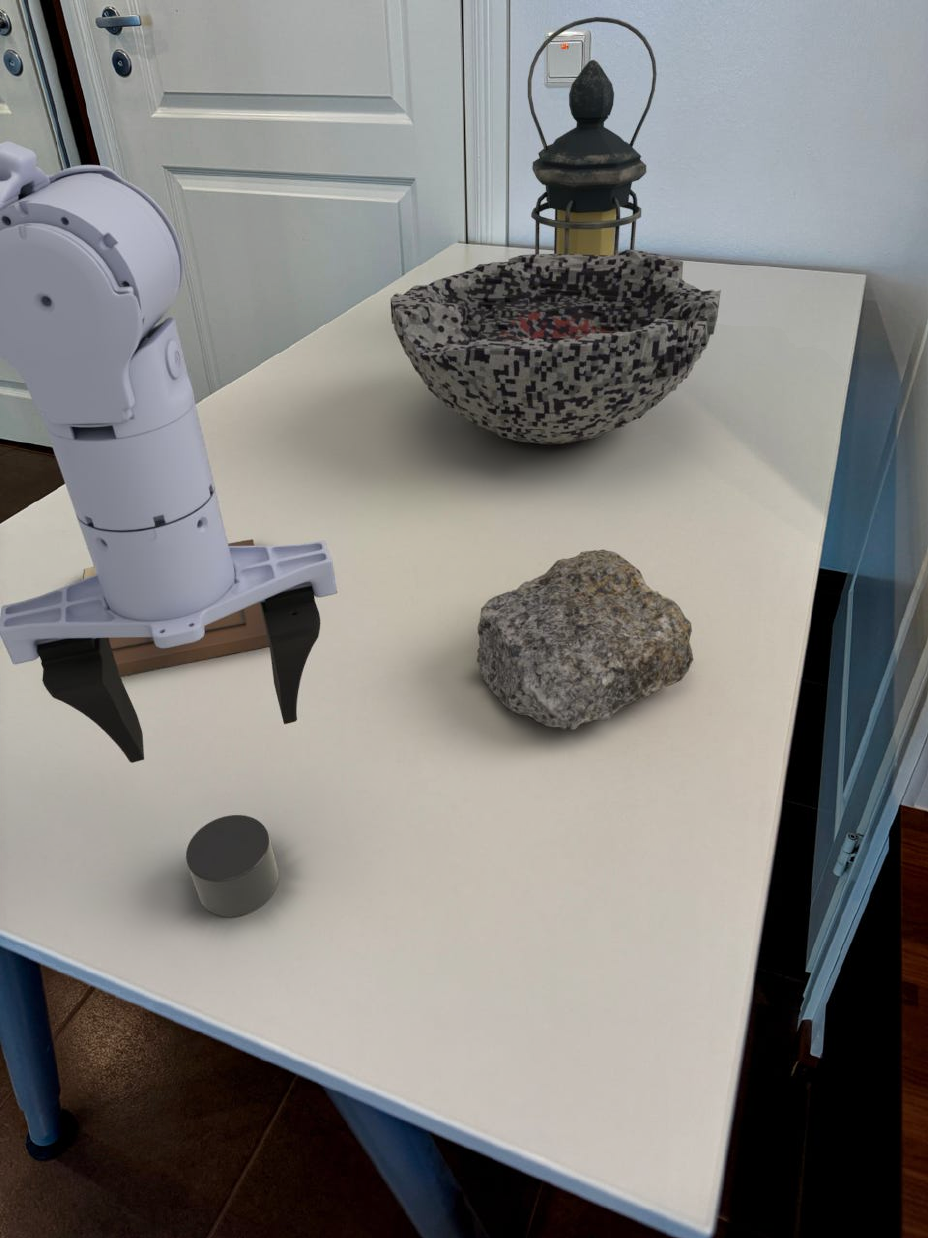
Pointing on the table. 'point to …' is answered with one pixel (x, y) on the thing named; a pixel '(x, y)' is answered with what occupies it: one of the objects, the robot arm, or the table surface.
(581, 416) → the bowl
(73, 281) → the robot arm
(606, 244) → the lantern
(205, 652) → the board
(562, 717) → the rock
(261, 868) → the dark grey cylinder
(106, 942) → the table surface
